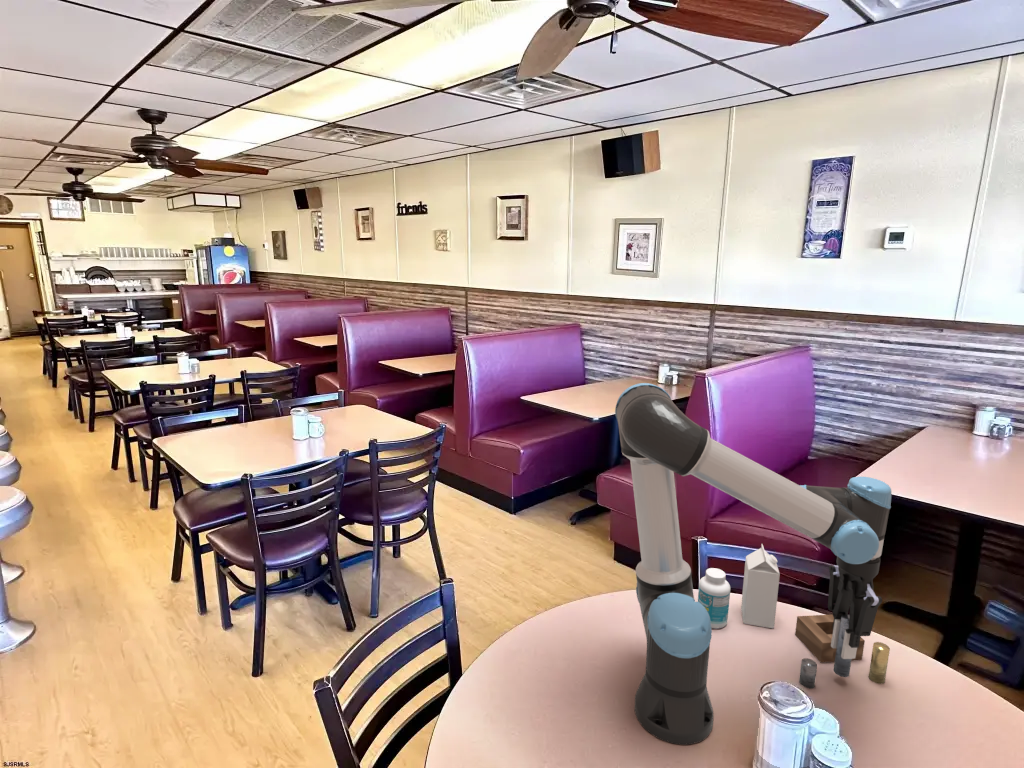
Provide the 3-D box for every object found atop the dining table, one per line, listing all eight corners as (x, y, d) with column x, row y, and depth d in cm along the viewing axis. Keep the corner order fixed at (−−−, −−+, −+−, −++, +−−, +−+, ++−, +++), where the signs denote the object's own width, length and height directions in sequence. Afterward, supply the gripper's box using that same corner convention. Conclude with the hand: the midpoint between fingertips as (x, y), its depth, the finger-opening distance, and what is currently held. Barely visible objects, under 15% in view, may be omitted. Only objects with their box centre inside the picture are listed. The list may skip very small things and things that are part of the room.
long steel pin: (839, 677, 121) (847, 623, 118) (830, 667, 124) (838, 614, 121) (852, 677, 121) (860, 622, 118) (843, 667, 124) (851, 614, 121)
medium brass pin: (875, 684, 122) (880, 651, 120) (865, 674, 125) (870, 642, 123) (888, 683, 122) (893, 650, 120) (878, 673, 125) (883, 641, 123)
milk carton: (743, 624, 142) (749, 554, 138) (740, 608, 149) (747, 541, 145) (774, 629, 140) (781, 559, 136) (770, 613, 147) (777, 545, 143)
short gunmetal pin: (804, 688, 120) (806, 668, 119) (796, 678, 123) (798, 658, 122) (817, 688, 121) (820, 667, 120) (809, 678, 124) (811, 657, 123)
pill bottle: (691, 612, 147) (695, 565, 144) (719, 611, 147) (723, 564, 145) (703, 630, 140) (707, 581, 137) (732, 629, 140) (736, 580, 137)
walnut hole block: (820, 662, 128) (822, 642, 127) (795, 634, 138) (797, 616, 137) (861, 660, 129) (864, 640, 128) (833, 632, 139) (836, 614, 138)
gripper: (905, 571, 109) (886, 677, 114) (850, 533, 125) (835, 628, 129) (869, 572, 108) (851, 679, 113) (818, 534, 124) (804, 629, 129)
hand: (842, 652), depth 121 cm, fingers closed on long steel pin, 3 cm apart
